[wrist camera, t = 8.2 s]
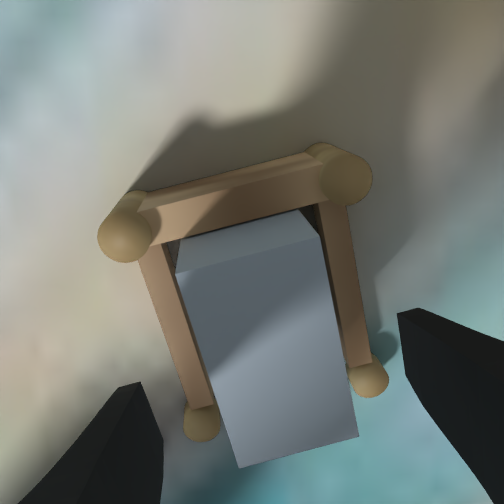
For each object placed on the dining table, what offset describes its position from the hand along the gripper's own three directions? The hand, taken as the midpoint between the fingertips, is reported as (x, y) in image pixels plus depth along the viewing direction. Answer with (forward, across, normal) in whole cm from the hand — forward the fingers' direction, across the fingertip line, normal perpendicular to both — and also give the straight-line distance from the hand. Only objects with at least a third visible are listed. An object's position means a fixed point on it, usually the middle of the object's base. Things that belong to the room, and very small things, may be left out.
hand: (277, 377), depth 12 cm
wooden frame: (+7, 0, +1) cm, 7 cm away
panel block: (+7, 0, 0) cm, 7 cm away
